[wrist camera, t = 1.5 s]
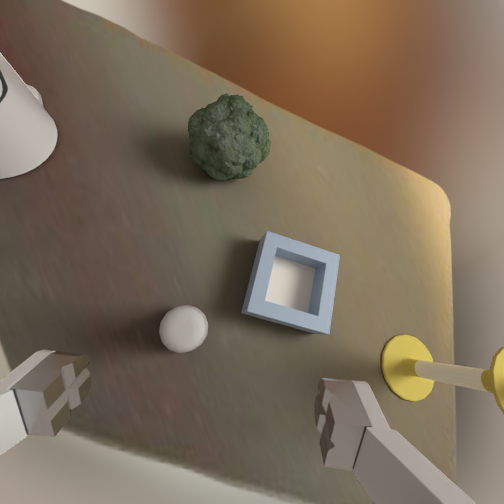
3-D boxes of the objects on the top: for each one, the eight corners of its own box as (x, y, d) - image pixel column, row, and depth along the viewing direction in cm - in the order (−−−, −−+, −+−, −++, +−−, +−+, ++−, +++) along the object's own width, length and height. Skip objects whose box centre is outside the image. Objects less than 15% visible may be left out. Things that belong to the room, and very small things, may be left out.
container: (240, 313, 37) (247, 311, 33) (259, 240, 41) (267, 230, 37) (314, 333, 39) (329, 334, 34) (325, 262, 43) (339, 255, 38)
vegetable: (278, 128, 46) (286, 168, 36) (225, 166, 51) (218, 210, 41) (238, 62, 39) (233, 87, 28) (181, 114, 44) (160, 150, 34)
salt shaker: (158, 315, 34) (140, 308, 22) (199, 300, 36) (202, 287, 24) (171, 357, 33) (160, 374, 21) (212, 340, 35) (223, 346, 23)
